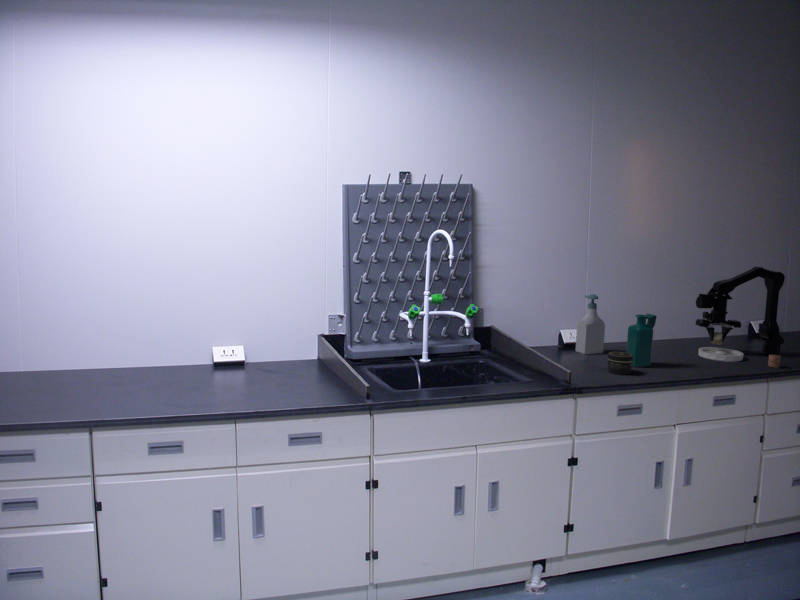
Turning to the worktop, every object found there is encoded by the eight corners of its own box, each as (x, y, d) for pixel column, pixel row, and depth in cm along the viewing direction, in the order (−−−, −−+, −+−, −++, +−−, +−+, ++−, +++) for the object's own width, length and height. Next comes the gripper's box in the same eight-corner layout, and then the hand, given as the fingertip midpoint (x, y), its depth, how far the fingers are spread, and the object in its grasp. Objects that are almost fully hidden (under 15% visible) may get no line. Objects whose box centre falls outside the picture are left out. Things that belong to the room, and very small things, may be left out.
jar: (611, 367, 265) (613, 350, 264) (635, 372, 259) (637, 354, 258) (602, 372, 258) (604, 354, 257) (627, 376, 251) (628, 358, 250)
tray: (730, 353, 299) (731, 347, 299) (750, 362, 281) (751, 356, 281) (691, 351, 300) (692, 346, 299) (709, 361, 282) (709, 355, 281)
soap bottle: (591, 349, 301) (595, 292, 297) (603, 352, 294) (607, 294, 290) (572, 350, 297) (576, 293, 293) (584, 354, 289) (588, 295, 285)
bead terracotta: (775, 365, 275) (777, 354, 275) (781, 368, 271) (782, 357, 270) (765, 365, 275) (766, 354, 275) (771, 368, 271) (772, 356, 270)
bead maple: (723, 344, 292) (724, 334, 292) (713, 344, 293) (714, 333, 292) (718, 342, 297) (719, 332, 296) (709, 342, 297) (710, 332, 296)
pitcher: (635, 367, 267) (639, 316, 263) (623, 362, 275) (627, 313, 271) (655, 366, 269) (659, 316, 266) (642, 361, 277) (646, 312, 274)
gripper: (731, 306, 300) (728, 338, 302) (691, 305, 301) (689, 337, 303) (743, 310, 289) (740, 343, 291) (702, 309, 289) (699, 342, 292)
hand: (716, 341), depth 295 cm, fingers closed on bead maple, 4 cm apart
